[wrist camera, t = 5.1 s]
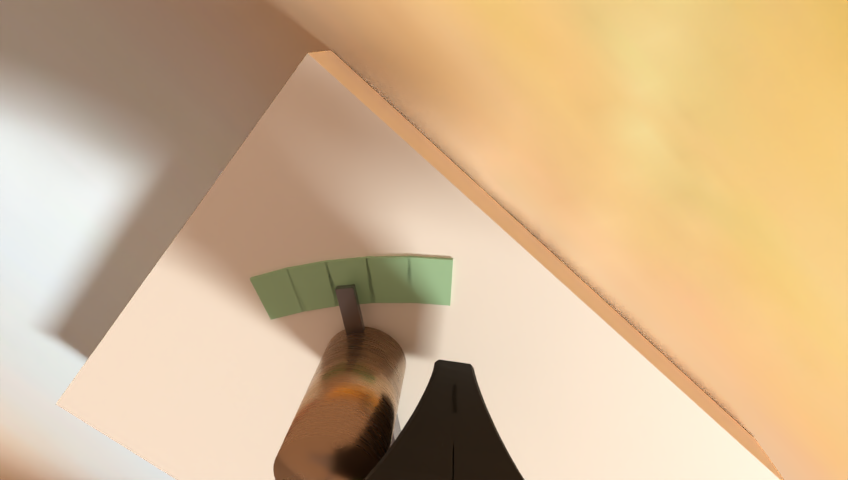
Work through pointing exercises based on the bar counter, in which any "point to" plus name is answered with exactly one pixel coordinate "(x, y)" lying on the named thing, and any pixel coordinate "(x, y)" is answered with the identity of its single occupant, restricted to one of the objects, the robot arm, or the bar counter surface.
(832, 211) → the bar counter surface
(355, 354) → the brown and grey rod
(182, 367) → the board
